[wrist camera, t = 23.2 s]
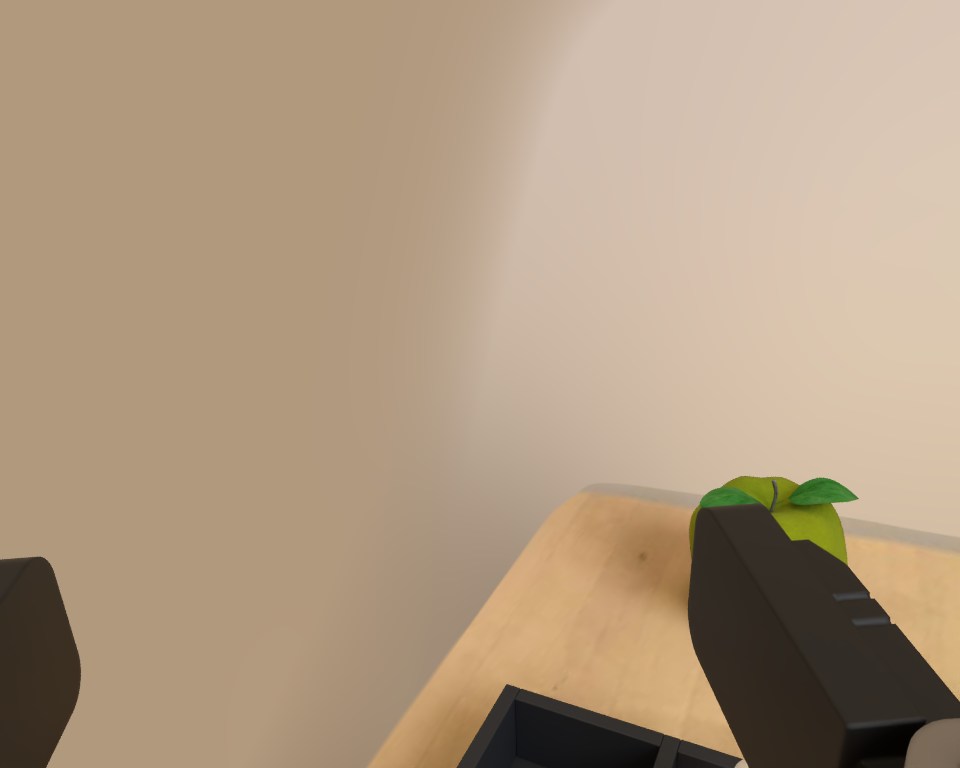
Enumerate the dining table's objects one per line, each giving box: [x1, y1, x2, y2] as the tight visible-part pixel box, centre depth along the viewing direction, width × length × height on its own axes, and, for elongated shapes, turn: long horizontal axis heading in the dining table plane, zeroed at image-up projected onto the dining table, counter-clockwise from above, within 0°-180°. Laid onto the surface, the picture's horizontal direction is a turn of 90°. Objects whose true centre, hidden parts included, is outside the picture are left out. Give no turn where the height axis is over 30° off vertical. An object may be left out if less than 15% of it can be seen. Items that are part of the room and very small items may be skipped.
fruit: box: [689, 476, 858, 566], centre depth 51 cm, size 9×9×10 cm
